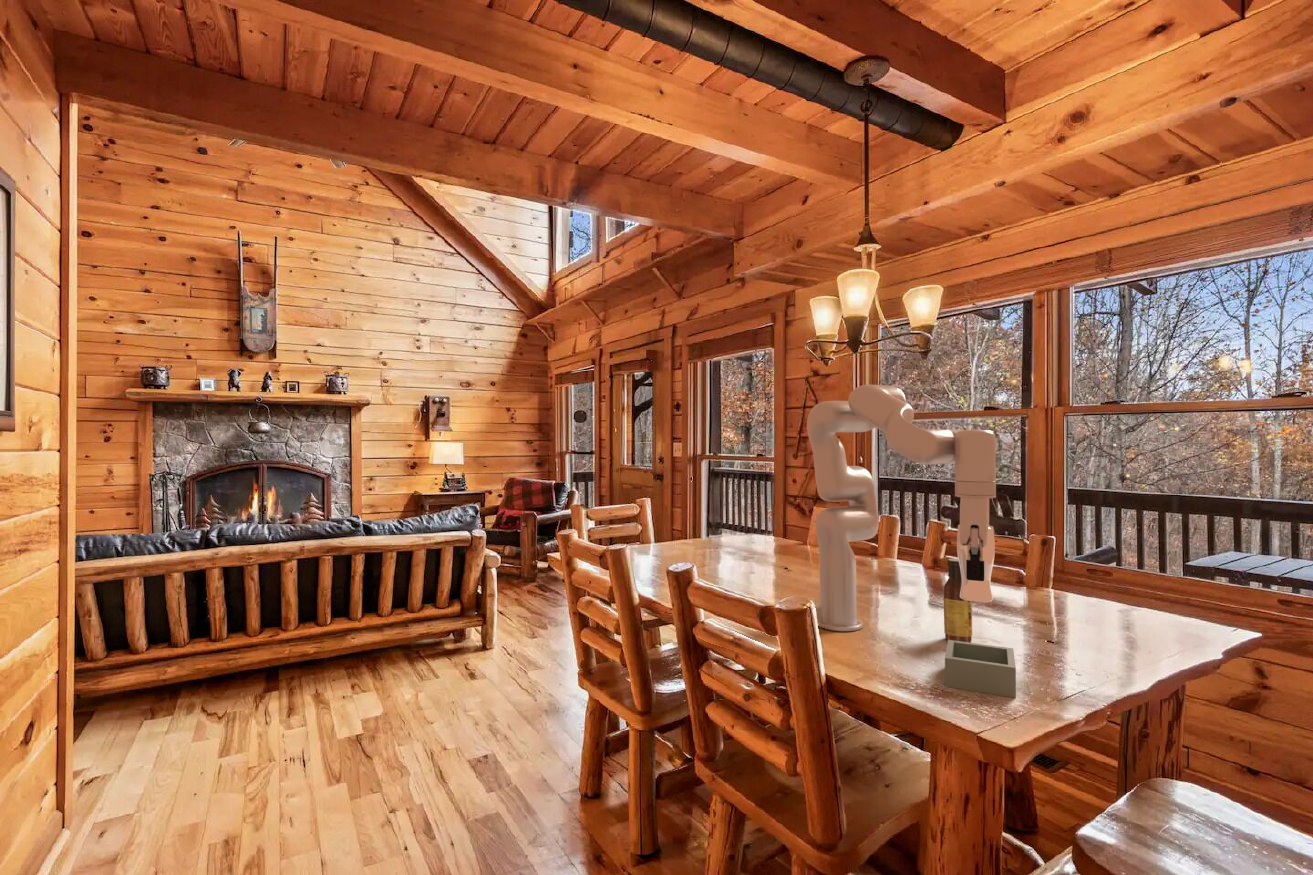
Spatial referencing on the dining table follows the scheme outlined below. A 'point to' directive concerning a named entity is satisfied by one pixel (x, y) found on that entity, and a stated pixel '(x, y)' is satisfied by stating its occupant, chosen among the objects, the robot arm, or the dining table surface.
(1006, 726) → the dining table surface
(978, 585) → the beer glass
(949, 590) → the sauce bottle
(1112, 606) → the dining table surface
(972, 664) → the box
